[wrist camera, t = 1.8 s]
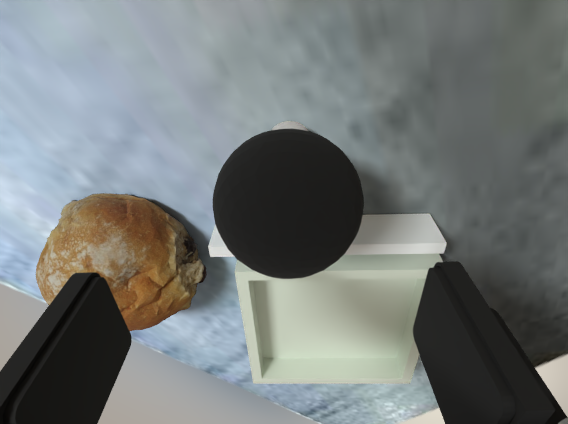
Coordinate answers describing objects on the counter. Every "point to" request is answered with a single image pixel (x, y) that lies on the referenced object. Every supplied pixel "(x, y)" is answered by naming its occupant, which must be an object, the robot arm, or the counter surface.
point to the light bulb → (288, 202)
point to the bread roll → (124, 256)
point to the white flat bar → (378, 236)
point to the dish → (335, 321)
